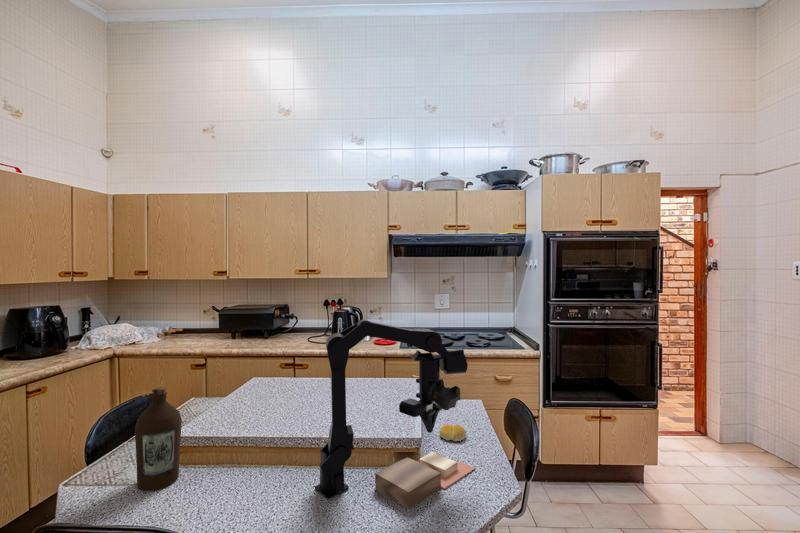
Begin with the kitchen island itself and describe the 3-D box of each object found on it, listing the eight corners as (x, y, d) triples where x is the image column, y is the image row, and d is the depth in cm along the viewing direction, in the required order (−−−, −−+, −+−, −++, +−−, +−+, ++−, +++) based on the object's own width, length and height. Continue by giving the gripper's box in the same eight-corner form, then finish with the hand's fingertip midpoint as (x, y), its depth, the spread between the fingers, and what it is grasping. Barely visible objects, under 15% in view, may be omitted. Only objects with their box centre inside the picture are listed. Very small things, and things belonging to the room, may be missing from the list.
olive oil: (135, 478, 102) (136, 386, 102) (180, 467, 108) (180, 380, 108) (133, 498, 93) (134, 397, 94) (182, 484, 99) (183, 389, 99)
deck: (375, 488, 97) (375, 473, 97) (407, 471, 105) (407, 457, 105) (408, 509, 88) (408, 492, 88) (440, 488, 97) (440, 472, 97)
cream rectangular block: (432, 451, 112) (432, 458, 112) (419, 459, 107) (419, 466, 107) (457, 461, 105) (457, 469, 105) (444, 470, 101) (444, 477, 101)
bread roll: (442, 430, 133) (442, 419, 133) (467, 434, 130) (467, 422, 130) (436, 440, 125) (436, 428, 125) (463, 444, 122) (463, 432, 122)
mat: (405, 469, 106) (405, 468, 106) (437, 452, 116) (437, 451, 116) (444, 489, 96) (444, 488, 96) (475, 469, 106) (475, 468, 106)
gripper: (429, 389, 91) (430, 453, 91) (473, 374, 104) (473, 430, 104) (397, 380, 99) (397, 439, 99) (441, 367, 112) (442, 419, 112)
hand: (429, 432), depth 103 cm, fingers closed
